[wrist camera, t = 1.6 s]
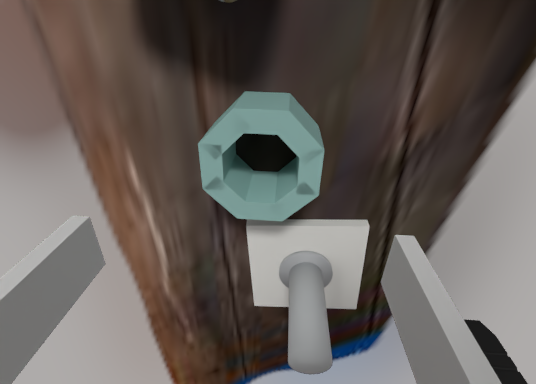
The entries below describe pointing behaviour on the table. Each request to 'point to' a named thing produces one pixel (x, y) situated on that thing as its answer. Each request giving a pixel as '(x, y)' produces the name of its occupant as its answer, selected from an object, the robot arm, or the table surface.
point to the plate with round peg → (307, 278)
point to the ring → (262, 182)
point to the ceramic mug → (227, 1)
